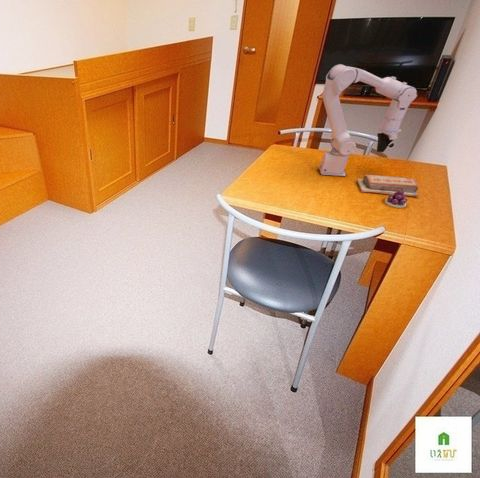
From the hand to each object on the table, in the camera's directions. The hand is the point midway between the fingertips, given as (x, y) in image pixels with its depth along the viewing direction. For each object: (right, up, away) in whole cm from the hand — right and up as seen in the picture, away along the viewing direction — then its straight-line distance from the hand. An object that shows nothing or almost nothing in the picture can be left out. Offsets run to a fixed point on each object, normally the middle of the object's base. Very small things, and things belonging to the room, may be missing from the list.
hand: (379, 151), depth 135 cm
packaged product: (-4, -17, -8) cm, 20 cm away
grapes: (-8, -24, -17) cm, 31 cm away
